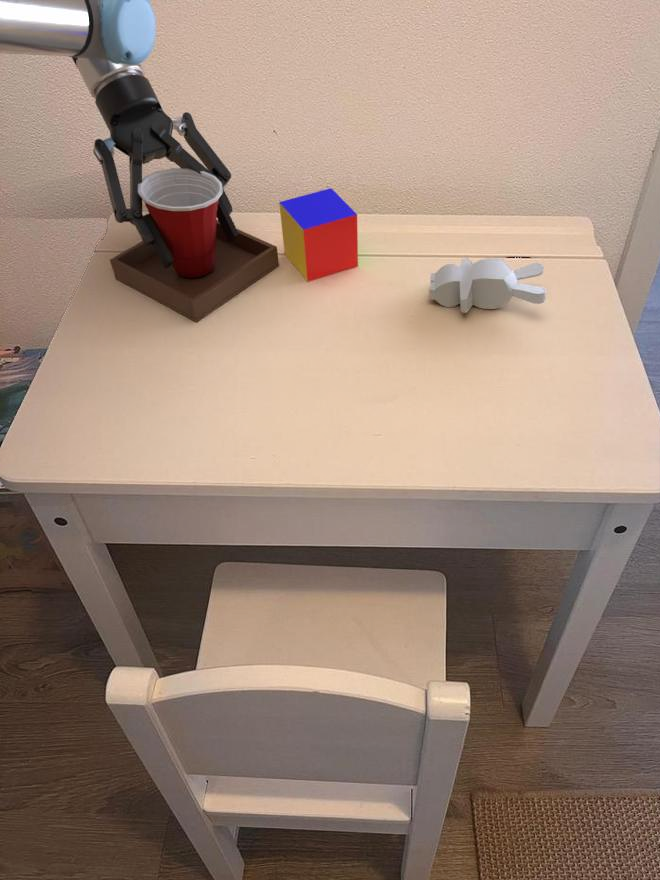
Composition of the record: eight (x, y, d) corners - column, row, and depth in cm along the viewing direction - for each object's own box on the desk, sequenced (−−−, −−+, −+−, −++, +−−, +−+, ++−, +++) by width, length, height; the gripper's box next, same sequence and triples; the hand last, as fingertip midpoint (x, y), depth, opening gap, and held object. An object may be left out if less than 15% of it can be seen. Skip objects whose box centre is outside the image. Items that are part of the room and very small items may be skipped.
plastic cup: (243, 278, 100) (231, 196, 90) (166, 295, 97) (145, 213, 88) (223, 238, 106) (210, 158, 97) (150, 253, 103) (130, 172, 94)
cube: (307, 281, 101) (303, 229, 95) (284, 253, 105) (279, 202, 99) (357, 266, 103) (357, 214, 97) (333, 239, 108) (331, 188, 101)
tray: (115, 279, 101) (109, 259, 99) (199, 228, 110) (195, 209, 107) (196, 322, 95) (191, 303, 93) (279, 265, 103) (277, 246, 101)
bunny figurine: (431, 251, 98) (543, 245, 96) (433, 283, 102) (541, 278, 100) (427, 292, 92) (547, 287, 90) (430, 324, 96) (545, 320, 94)
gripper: (189, 81, 100) (263, 233, 105) (37, 125, 92) (124, 288, 96) (201, 51, 94) (279, 215, 98) (38, 96, 85) (131, 272, 89)
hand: (202, 251), depth 97 cm, fingers closed on plastic cup, 9 cm apart
